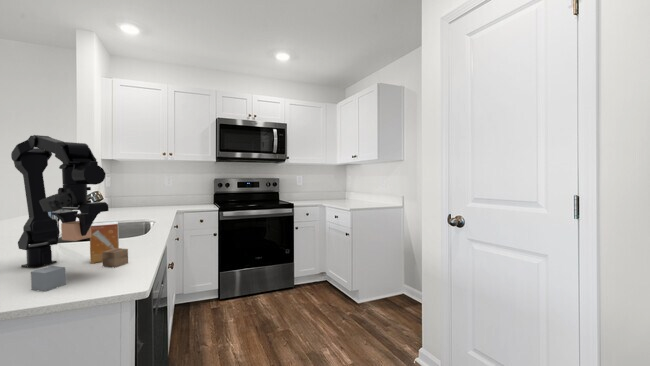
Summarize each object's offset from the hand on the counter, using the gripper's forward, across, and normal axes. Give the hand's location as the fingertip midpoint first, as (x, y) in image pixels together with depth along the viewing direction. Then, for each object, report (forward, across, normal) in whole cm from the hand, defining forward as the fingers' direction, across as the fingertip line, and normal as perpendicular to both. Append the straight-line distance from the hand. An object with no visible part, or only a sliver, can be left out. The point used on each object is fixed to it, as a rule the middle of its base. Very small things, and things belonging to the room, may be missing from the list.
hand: (76, 235), depth 92 cm
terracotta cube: (+1, 0, 0) cm, 1 cm away
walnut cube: (+12, +3, +10) cm, 16 cm away
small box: (+12, -6, +14) cm, 20 cm away
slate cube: (+12, +3, -10) cm, 16 cm away
